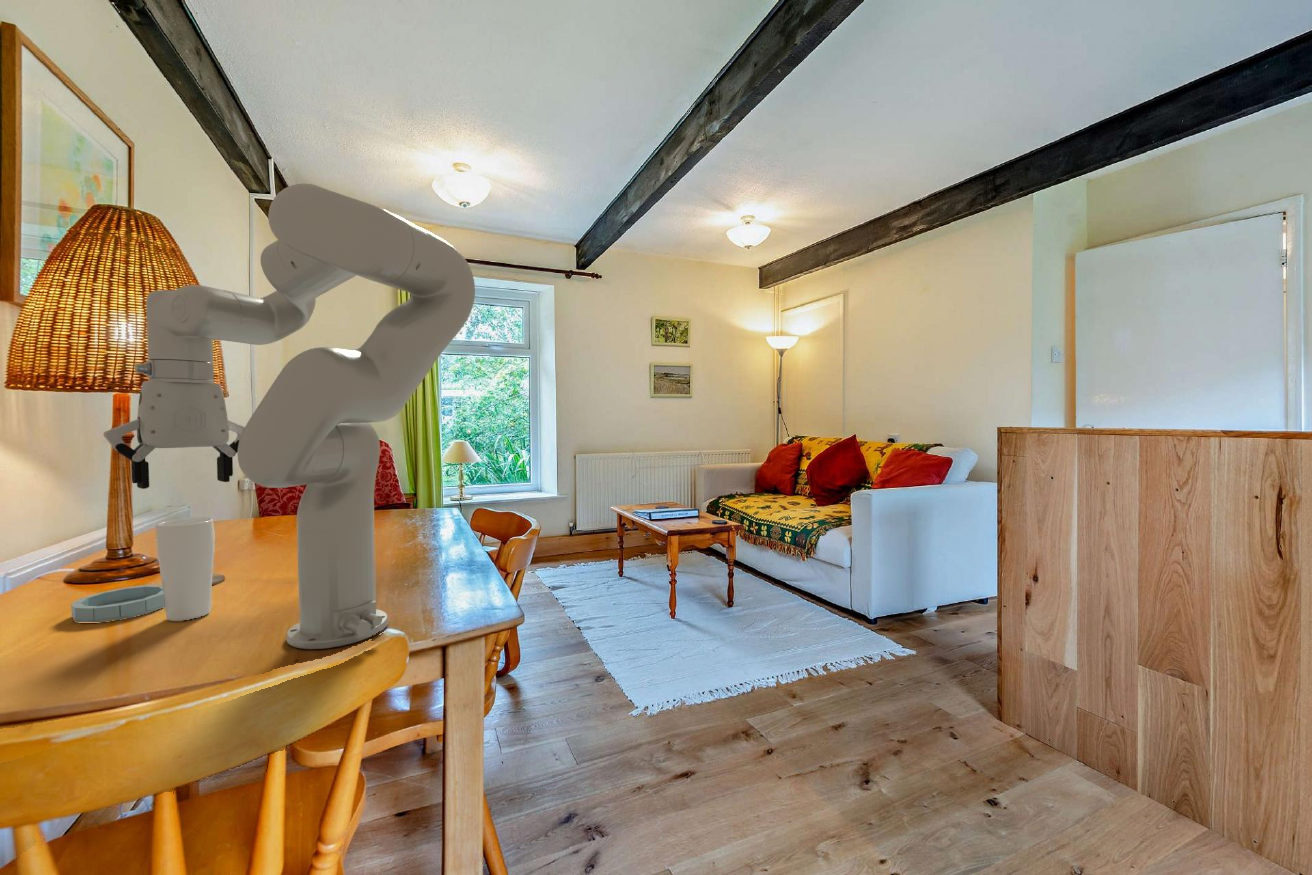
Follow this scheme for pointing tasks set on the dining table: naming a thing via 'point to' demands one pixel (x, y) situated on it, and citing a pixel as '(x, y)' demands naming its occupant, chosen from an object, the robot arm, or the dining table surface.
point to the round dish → (118, 604)
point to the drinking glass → (186, 566)
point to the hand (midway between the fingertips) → (185, 484)
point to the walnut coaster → (217, 578)
